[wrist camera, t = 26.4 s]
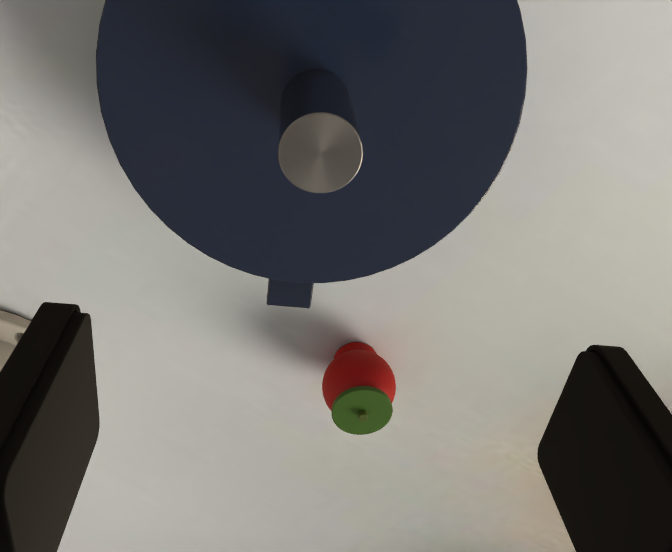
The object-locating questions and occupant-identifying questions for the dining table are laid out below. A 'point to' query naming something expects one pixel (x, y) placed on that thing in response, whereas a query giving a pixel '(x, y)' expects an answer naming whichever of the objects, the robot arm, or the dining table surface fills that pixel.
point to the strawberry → (359, 389)
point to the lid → (311, 123)
